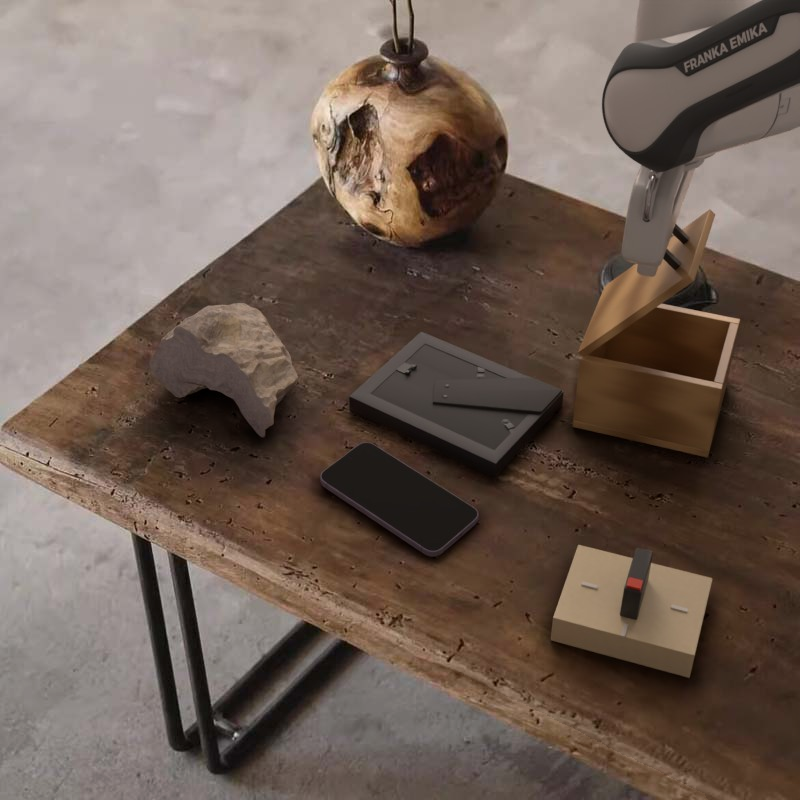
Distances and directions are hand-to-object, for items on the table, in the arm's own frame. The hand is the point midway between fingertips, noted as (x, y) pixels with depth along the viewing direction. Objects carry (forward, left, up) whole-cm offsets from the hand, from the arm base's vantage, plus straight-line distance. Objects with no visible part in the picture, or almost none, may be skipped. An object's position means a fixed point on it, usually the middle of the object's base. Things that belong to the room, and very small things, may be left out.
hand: (654, 252), depth 125 cm
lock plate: (-6, +29, -19) cm, 35 cm away
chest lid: (0, 0, -4) cm, 4 cm away
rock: (+39, +11, -19) cm, 45 cm away
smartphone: (+18, +22, -19) cm, 34 cm away
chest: (-2, 0, -19) cm, 19 cm away
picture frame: (+17, +7, -19) cm, 26 cm away
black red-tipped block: (-6, +29, -16) cm, 34 cm away
